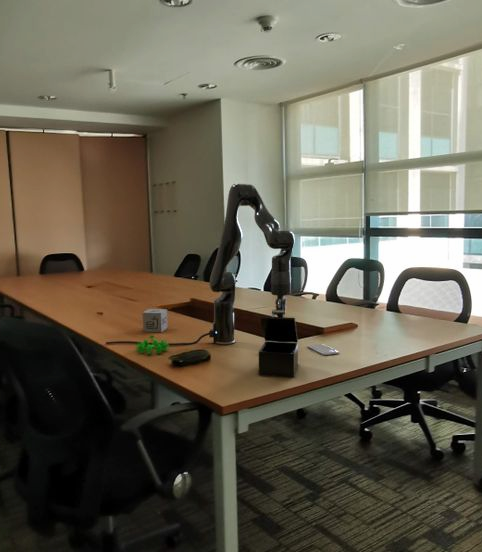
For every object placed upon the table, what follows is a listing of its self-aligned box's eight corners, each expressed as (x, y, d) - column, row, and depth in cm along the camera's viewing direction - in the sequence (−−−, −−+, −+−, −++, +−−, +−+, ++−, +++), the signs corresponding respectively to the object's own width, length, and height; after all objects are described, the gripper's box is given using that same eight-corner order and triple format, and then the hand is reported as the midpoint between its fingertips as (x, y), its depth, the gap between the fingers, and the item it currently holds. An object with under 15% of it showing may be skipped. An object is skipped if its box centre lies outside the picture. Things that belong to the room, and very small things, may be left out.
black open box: (293, 377, 178) (293, 353, 177) (258, 375, 181) (258, 351, 180) (297, 364, 193) (297, 342, 192) (265, 362, 196) (265, 341, 195)
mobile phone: (322, 342, 221) (339, 351, 206) (322, 344, 221) (339, 353, 207) (306, 344, 219) (323, 353, 204) (306, 346, 219) (323, 355, 204)
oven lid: (294, 319, 179) (295, 307, 182) (259, 318, 182) (261, 306, 185) (297, 342, 192) (298, 330, 195) (265, 340, 195) (266, 329, 198)
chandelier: (145, 358, 207) (145, 341, 206) (129, 350, 219) (128, 335, 218) (175, 351, 216) (175, 336, 215) (158, 344, 228) (158, 330, 227)
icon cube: (161, 332, 253) (160, 313, 252) (143, 331, 255) (142, 312, 254) (167, 327, 263) (166, 309, 261) (149, 327, 265) (149, 309, 264)
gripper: (273, 280, 197) (273, 322, 199) (268, 284, 184) (269, 329, 186) (292, 280, 195) (292, 323, 197) (289, 284, 182) (289, 330, 184)
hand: (281, 326), depth 191 cm, fingers closed
